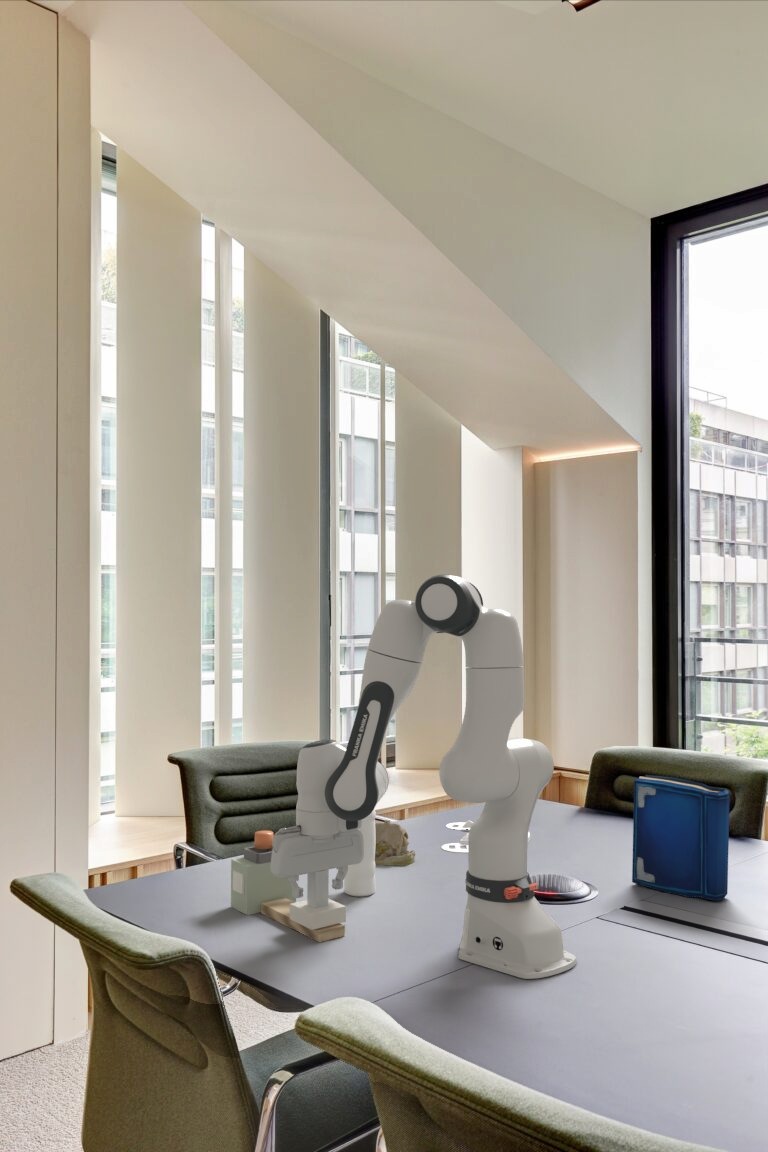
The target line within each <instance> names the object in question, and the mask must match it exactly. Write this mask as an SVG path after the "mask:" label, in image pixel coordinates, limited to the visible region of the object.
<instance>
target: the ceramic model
mask: <svg viewBox="0 0 768 1152" xmlns="http://www.w3.org/2000/svg"><path fill="white" fill-rule="evenodd" d="M375 830H376V847H375V865H381V866H382V865H383V866H407V865H411V864H413V862H414V861H415V857H416V852H415V850H413V849H412V850H411V851H410V850H408V846H409V844H410V843H409V842H410V841H408V839H409V835H408V832H407V830H406V829H405V828H403V827H402V826H401V824H398V823H391V820H387V819H386V820H385V819H384V822H375Z"/></svg>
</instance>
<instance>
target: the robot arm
mask: <svg viewBox="0 0 768 1152" xmlns="http://www.w3.org/2000/svg"><path fill="white" fill-rule="evenodd" d="M483 601H484V600H483V596H482V595H481V593H480V591H479V590H478V588H477V587H476V586H475V585H474V584H473V583H471V582H469V581H468V580H467V579H465V578H463V577H461V576H458V575H451V574H437V575H433V576H431V577H429V578H428V579H426V580H425V581H424V582H423V583H422V584H421V585H420V587H419V588H418V589H417V592H416V595H415V601H414V600H410V599H409V600H407V599H395V600H391V601H388V602H387V603H386V604H384V606H383V608H382V609H381V612H380V614H379V615H378V618H377V620H376V623H375V625H374V627H373V630H372V633H371V636H370V640H369V642H368V646H367V651H366V654H365V658H364V664H363V669H362V670H363V671H362V676H361V684H360V685H361V686H360V692H359V699H358V705H357V711H356V715H355V718H354V722H353V725H352V729H351V731H350V736H349V738H348V742H347V746H346V747H344V746H343V745H342V744H340V743H339V741H337V740H336V739H320V740H316V741H312V742H309V743H306V744H305V745H304V746H303V747H302V748H301V749H300V750H299V752H298V757H297V763H296V764H297V767H296V783H295V784H296V789H297V793H298V795H297V798H298V799H297V801H296V806H295V807H296V808H295V817H296V818H295V823H296V824H295V825H294V826H289V827H282V828H279V829H278V830H277V831H276V832H275V833H274V834H273V849H272V856H271V867H270V869H271V872H272V874H273V875H274V876H276V877H279V878H282V879H283V878H287V880H288V882H289V884H290V886H291V887H292V896H293V897H294V898H296V899H299V898H303V897H304V888H303V887H300V886H299V884H298V881H299V880H300V879H299V878H300V876H301V875H302V876H303V875H307V874H308V873H313V872H318V871H323V870H333V869H336V871H337V872H336V875H335V878H332V879H331V883H332V884H331V887H332V889H333V890H335V891H336V890H342V889H344V888H343V887H344V880H345V876H346V874H347V872H348V865H353V864H358V863H360V862H361V861H362V859H363V857H364V841H363V834H362V832H361V830H360V829H359V828H361V826H362V819H364V818H366V817H367V816H368V815H370V814H371V812H372V811H373V810H374V809H375V808H376V806H377V804H378V803H379V802H380V801H381V799H382V798H383V797H384V795H385V794H386V792H387V790H388V787H389V776H388V772H387V770H386V768H385V766H384V765H383V764H382V763H381V762H380V761H379V758H380V754H381V750H382V748H383V744H384V740H385V736H386V733H387V729H388V726H389V725H390V722H391V721H392V719H393V717H394V715H395V713H397V711H398V710H399V709H400V707H401V705H403V703H404V702H405V701H406V700H407V699H408V697H409V696H410V694H411V692H412V690H413V688H414V686H415V684H416V683H417V679H418V676H419V674H420V670H421V667H422V662H423V660H424V656H425V655H424V654H425V651H426V648H427V645H428V642H429V641H430V639H431V637H433V636H434V635H435V634H449V635H452V636H455V637H460V638H461V641H462V642H463V646H464V655H465V656H464V657H465V708H464V715H463V718H462V719H463V720H462V723H461V726H460V730H459V733H458V735H457V737H456V739H455V741H454V743H453V745H452V747H450V748H449V750H448V751H447V752H446V753H445V754H444V756H443V757H442V758H441V760H440V761H441V762H440V765H439V771H438V775H439V781H440V785H441V787H442V789H443V790H444V792H445V794H446V795H447V796H448V797H449V798H450V799H452V800H453V801H455V802H459V803H467V804H468V803H469V804H482V803H484V806H483V808H482V810H481V813H480V814H479V816H478V818H476V820H475V821H474V822H473V825H472V826H471V828H470V830H468V834H469V836H468V841H467V842H468V843H467V844H468V853H467V854H468V855H467V856H468V869H467V871H466V873H465V881H464V882H465V891H466V893H467V900H466V905H465V910H464V919H463V926H462V935H461V939H460V942H459V950H458V959H460V960H462V961H465V962H468V963H472V964H474V965H478V966H481V967H485V968H488V969H491V970H493V971H498V972H501V973H504V974H507V975H511V976H514V977H517V978H520V979H523V980H526V979H527V980H531V979H532V980H533V979H541V978H547V977H551V976H554V975H557V974H561V973H563V972H567V971H568V970H570V969H573V968H574V967H575V966H576V965H577V964H578V963H577V962H578V961H577V956H576V955H574V954H573V953H570V952H569V951H567V950H565V949H564V941H563V940H564V939H563V934H562V930H561V927H560V926H559V925H558V923H557V922H556V921H555V920H554V919H553V918H552V917H551V915H550V914H549V913H548V911H547V910H546V909H545V908H544V907H543V906H542V905H541V903H540V902H539V900H537V898H536V897H535V890H538V889H539V887H537V886H538V885H539V882H534V883H533V882H532V879H531V877H530V874H529V873H528V844H529V843H528V832H530V831H529V830H530V825H531V822H532V818H533V814H534V811H535V808H536V806H537V802H538V800H539V798H540V796H541V794H542V792H543V790H544V789H545V788H546V786H548V785H549V784H550V781H551V780H552V777H553V775H554V770H555V769H554V768H555V765H554V764H555V763H554V760H553V756H552V753H551V751H550V750H549V748H548V747H547V746H546V745H545V744H544V742H543V743H542V742H541V741H539V740H535V739H531V738H523V737H513V738H510V732H511V729H512V727H513V724H514V722H515V721H516V719H517V718H518V717H519V716H520V715H521V714H522V712H523V710H524V708H525V705H526V701H525V697H526V696H525V694H526V693H525V667H524V665H525V664H524V654H523V644H522V637H521V634H520V633H521V632H520V628H519V625H518V622H517V619H516V618H515V616H514V615H513V614H512V613H510V612H508V611H507V610H506V611H505V610H503V609H499V608H487V607H484V602H483Z"/></svg>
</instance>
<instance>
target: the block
mask: <svg viewBox="0 0 768 1152" xmlns="http://www.w3.org/2000/svg"><path fill="white" fill-rule="evenodd" d="M291 903H295V902H293V901H291V900H289V899H286V898H283V899H278V900H274V901H269V902H264V903H261V912H260V914H262V915H265V916H266V917H268V918H270V919H271V920H274V921H276V922H278V923H280V924H282V925H284V926H286V927H288V928H290V927H291V928H290V929H292V928H293V929H295V930H297V931H299V932H300V934H301V933H302V935H303V934H304V936H305V935H307V936H308V937H307V936H306V937H307V938H309V937H310V939H311V938H312V939H311V940H313V939H314V940H313V941H315V940H316V941H315V942H317V941H318V942H317V943H322V941H323V942H327V941H330V939H331V940H334V939H333V938H335V939H338V937H339V938H342V936H343V937H345V934H346V933H345V931H346V930H345V929H346V927H345V926H346V925H345V924H342V923H338V924H334V925H330V926H326V927H322V928H318V929H314V930H311V929H309V928H307V927H305V926H303V925H301V924H299V923H297V922H295V921H293V920H291V919H290V904H291ZM293 929H292V930H293ZM295 930H294V931H295ZM297 931H296V932H297ZM299 932H298V933H299Z"/></svg>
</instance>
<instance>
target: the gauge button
mask: <svg viewBox="0 0 768 1152" xmlns="http://www.w3.org/2000/svg"><path fill="white" fill-rule="evenodd" d="M274 834H275V833H274V832H273V831H272V830H257V831H255V832H254V846H255V848H257V849H270V848H273V836H274Z"/></svg>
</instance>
